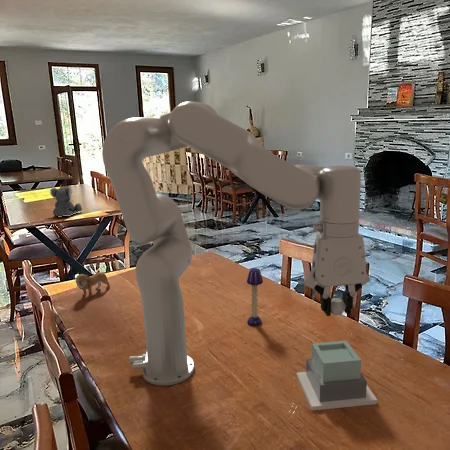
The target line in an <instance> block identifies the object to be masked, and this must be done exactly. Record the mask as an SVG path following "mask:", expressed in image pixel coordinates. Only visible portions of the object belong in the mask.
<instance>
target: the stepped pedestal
mask: <svg viewBox="0 0 450 450" xmlns="http://www.w3.org/2000/svg"><path fill="white" fill-rule="evenodd" d="M305 363H306V364H305V365H306V366H305V371H300V372H296V378H297V380H298V384H299V385H300V388H301V390H302V392H303V394H304V396H305V399H306V401H307V403H308V406H309V408H310V410H311V411H320V410H321V411H323V410H330V409H331V410H332V409H341V408H351V407H360V406H370V405H378V399H377V398H376V396H375V394H374V393H373V392H372V390H371V389H370V387H369V386H368V384H367V383H368V380H367V379H366V378H365V376H364V375H363V374H362V372H361V370H362V359H361V358H360V356H359V355H358V353H356V351H355V350H354V348H353V347H352V346H351V344H350V343H349V342H348V340H339V341H328V342H326V341H325V342H314V343H311V358H306V360H305Z"/></svg>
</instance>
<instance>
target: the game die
mask: <svg viewBox="0 0 450 450" xmlns="http://www.w3.org/2000/svg"><path fill="white" fill-rule="evenodd" d="M345 307H346V305H345V303H344V302H343V300H342V298H339V297H336V298H331V315H333V316H341V315H342V314H343V313H345V311H344V310H345Z"/></svg>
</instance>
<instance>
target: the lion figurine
mask: <svg viewBox="0 0 450 450" xmlns="http://www.w3.org/2000/svg"><path fill="white" fill-rule="evenodd" d="M75 283H76V286H77V287H78V288H79V289H80V290H82V291H83V293H82V297H85V296H87V290H88V298H91V297H93V292H92V288H93V287H94V286H95V285H97V284H98V286H97V287H95V290H96V291H98V290H99V289H100V288H101V286H102V283H103V284H105V285H106V289H108V290H109V289H110V288H111V286H110V282H109V281H108V277H107V275H106V274H105V273H104V272H96V273H95V274H93V275H88V274H85V273H80V274H78V275H77V276H76V277H75Z"/></svg>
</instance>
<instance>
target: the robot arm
mask: <svg viewBox="0 0 450 450" xmlns="http://www.w3.org/2000/svg"><path fill="white" fill-rule="evenodd" d="M104 138H105V139H104V141H103V143H102V152H101V153H102V155H101V156H102V162H103V165H104V169H105V170H106V173H107V176H108V177H109V180H110V183H111V186H112V189H113V191H114V194H115V198H116V200H117V201H116V202H117V205H118V207H119V210H120V213H121V216H122V219H123V223H124V225H125V227H126V230H127V233H128V235H129V237H130V238H131V239H132V240H133V241H134V242H137V243H139V244H149V243H151V242H152V246H150V247H149V248H148V249H147V250H145V251H144V252H143V253H142V254H141V255H140V256H139V258H138V259H137V262H136V266H135V272H134V273H135V278H136V282H137V287H138V289H139V294H140V298H141V307H142V316H143V326H144V335H145V346H146V353H142V355H133V356H132V355H131V356H129V358H128V364H129V365H130V366H131V365H132V368H133V369H134V370H135V369H136V370H137V369H141V373H142V374H141V375H142V378H143V379H144V380H145V381H146V382H147V383H150V384H152V385H154V386H155V385H156V386H163V387H164V386H165V387H166V386H172V385H177V384H180V383H182V382H184V381H186V380H187V379H189V377H191V376H192V375H193V373H194V371H195V363H194V360H193V358H192V357H190V356H188V351H187V350H188V348H187V334H186V319H185V318H186V317H185V308H184V307H185V306H184V304H185V303H184V298H183V292H182V290H181V287H180V286H181V285H180V281H179V279H180V277H181V276H182V275H183V273H184V272H185V271H186V270H187V269H188V268H189V266H190V264H191V263H192V260H193V249H192V245H191V241H190V239H189V235H188V231H187V228H186V226H185V225H186V224H185V222H184V219H183V215H182V212H181V210H180V208H179V206H178V204H177V203H176V202H175V201H174V199H173V198H171V197H170V196H168V195H166V194H162V193H157V192H156V191H155V187H154V183H153V180H152V177H151V175H150V173H149V172H148V170H147V169H146V167H145V165H144V163H143V161H144V159H145V158H149V157H154V156H157V155H158V156H159V155H163V154H165V153H169V152H172V151H177V150H180V149H183V148H186V147H188V148H190V149H192V150H194V151H196V152H197V153H200V154H201V155H203V156H205V157H207V158H209V159H211V160H212V161H214V162H216V163H217V164H219V165H221V166H222V167H225V168H226V169H228V170H229V171H231V173H233V175H235V176H237V177H238V178H239V179H240V180H242V181H243V182H244V183H246V184H247V185H249V187H251V188H252V189H254V190H255V191H257V192H259V193H260V194H261V195H264V196H265V197H267V198H269V199H271V200H273V201H275V202H276V203H278V204H280V205H282V206H284V207H286V208H288V209H291V210H304V209H306V208H309V207H310V206H312V205H314V203H315V202H316V200H319V205H320V206H319V219H318V223H314V224H313V225H312V231H314V232H318V233H317V234H316V236H315V241H314V245H313V252H312V260H311V270H310V272H309V273H308V275H307V277H306V278H305V280H304V285H305V286H306V287H309V288H310V289H312V290H314V291H316V292H317V293H318V294H319V295H320V309H321V311H322V312H324V315H325V316H327V317H330V316H331V315H332V313H331V300H332V298H331V297H330V292H331V288H332V287H336V286H344V290H343V292H342V294H341V295H342V296H341V297H342V298H341V300H343V302H344V303H345V305H346V307H345V310H344V313H345V314H346V315H349V316H350V315H351V314H352V313H351V310H352V309H354V308H353V305H354V297H355V296H356V293H357V292H358V291H359V290H360V289H362V286H365V285H366V284H367V283H369V282H370V281H371V277H370V276H369V274H368V273H367V262H366V250H365V242H364V236H363V234H361V233H359V226H360V208H361V207H360V206H361V205H360V202H361V184H362V183H361V182H362V181H361V180H362V179H361V178H362V176H361V171H360V169H359V168H358V167H356V166H353V165H352V166H351V165H330V166H321V165H320V166H319V165H312V164H296V165H293V164H291V163H290V162H288V161H286V160H285V159H283V158H280V156H277V155H275V154H274V153H273V152H271V151H270V150H269V149H267V148H265V146H264V145H262V144H261V143H260V142H259V140H258V139H257V137H256V136H255V135H254V134H253V133H252V132H250V131H249V130H248V129H245V128H243V127H241V126H240V125H238V124H236V123H234V122H232V121H230V120H228V119H227V118H225V117H223V116H221V115H219V114H218V113H217V112H216V109H215V108H213V107H212V106H211V105H209V104H207V103H204V102H201V101H200V102H199V101H184V102H181V103H179V104H177V105H176V106H175V107H174V108H173V109H172V111H170V112H167V113H164V114H159V115H156V116H148V117H143V116H141V117H139V116H137V117H129V118H126V119H123V120H121V121H118V122H117V124H114V126H113V127H111V129H110V130H109V131H108V133H107V135H106V136H105V137H104ZM315 281H316V282H315Z"/></svg>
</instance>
